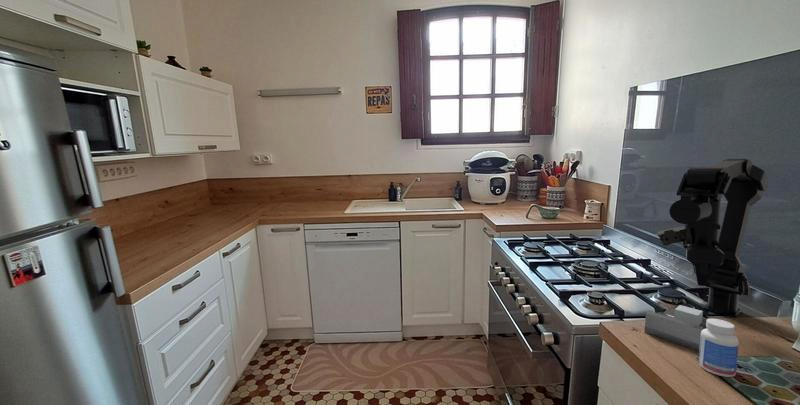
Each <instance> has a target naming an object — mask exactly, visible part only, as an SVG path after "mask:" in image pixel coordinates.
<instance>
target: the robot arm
mask: <svg viewBox="0 0 800 405" xmlns="http://www.w3.org/2000/svg"><path fill="white" fill-rule="evenodd" d="M768 179H769V178H768V176H767V174H766V172H765V170H764V169H762V168H760V167H758V166H757V165H754V164H753V162H752V160H751V159H748V158H727V159H723V160H722V161H721V162H718V163H716V164H714V165H711V166H708V167H707V166H706V167H705V166H704V167H702V166H701V167H689V168H688V169H687V171H685V172H684V174H683V176H682V179H681V181H680V184H679V185H678V186H679V187H678V188H677V190H676V196H679V197H680V199H679V200H676V201H675V202H673V203H672V204H671V205H670V207H669V210H668V211H669V215H670V217H671V219H672V220H674V222H677V223H679V224H680V225H683V226H675V227H672V228H671V227H670V228H667V229H661V230H658V231H657V236H658V238H659V241H660V243H661V246H663V247H664V246H670V245H671V244H679V243H682V245H683V248H684V249H685V258H686V261H688V262H689V263H691V264H692V269H693V273H694V275H695V278H696V282H697V286H699V287H706V288H708V298H707V299H708V300H707V303H706V304H705V305H704V306H703V307H702V308H703V310H706V311H710V312H714V313H718V314H721V315H725V316H730V317H733V318H736V317H737V316H738V315H739V314H740V313H741V311H742V309H741V308H738V303H739V302H738V301H739V296H749V295H750V283H749V279H748V276H747V274H746V273H745V271H746V267H745V266H744V264H743V262H742V260H741V259H740V253H741V250H742V245H743V241H744V237H745V232H746V228H747V225H748V220H749V215H750V211H751V207H752V206H754V205H755V204H756V203H758V202H759V201H760V200H761V199H762V197H763V194H764V192H765V191H767V189H768V186H769V180H768ZM722 197H724V198H725V200H726V201H727V202H726V203H727V204H726V207H725V210H724V211H725V212H724V217H723V220H722V224H720V215H721V202H722V201H721V199H722ZM719 231H720V232H719Z"/></svg>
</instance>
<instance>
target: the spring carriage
mask: <svg viewBox="0 0 800 405" xmlns="http://www.w3.org/2000/svg"><path fill="white" fill-rule="evenodd" d="M674 310H675V312H674V316H671V315H667V314H666V316H669V317H672V318H675V319H679V320H682V321H686V322H689V323H692V324H696V325H700V324H701V323H702V317H703V314H704V313H703V312H704V311H703V310H700V309H696V308H693V307H688V306H684V305H681V304H679V305H678V306H677V307H676V308H674Z"/></svg>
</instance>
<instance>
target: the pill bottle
mask: <svg viewBox="0 0 800 405" xmlns="http://www.w3.org/2000/svg"><path fill="white" fill-rule="evenodd" d="M706 327H707V328H706V329H703V330H702V331H701V336H700V350H699V352H698V365H699V366H700V367H701V368H702V369H703V370H704V371H707V372H709V373H711V374H713V375H716V376H720V377H725V378H733V377H735V376H736V375H737V368H738V366H737V365H738V354H739V347H740V346H739V339H738V337H737V336H735V335H734V334H735V327H736V326H735V325H734V324H733V323H731V322H729V321H726V320H722V319H718V318H707V320H706Z"/></svg>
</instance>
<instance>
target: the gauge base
mask: <svg viewBox="0 0 800 405" xmlns="http://www.w3.org/2000/svg"><path fill="white" fill-rule="evenodd" d="M674 312H675V308H667V309H666V310H665V311H663V313H664V314H667V315H671V316H674ZM707 319H708V318H706V317H703V316H702V323H701V324H700V325H696V324H692V323H689V322H686V321H682V320H679V319H675V318H672V317H669V316H665V315H662V314H659V313H658V312H656V311H655V312H654V311H652V310H648V311H646V312H645V320H644V321H645V322H644V333H645V334H649V335H651V334H652V336H654V337H657V336H658V338H660V337H661V339H664V340H666V341H668V342H671V343H675V344H677V343H678V345H681V346H683V347H685V348H686V347H687V348H690V349H692V350H695V351H697V352H698V351H699V350H700V336H701V331H702V330H703V329H706V328H707V327H706V320H707Z"/></svg>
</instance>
